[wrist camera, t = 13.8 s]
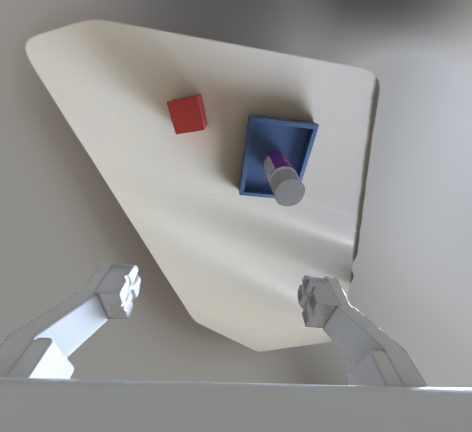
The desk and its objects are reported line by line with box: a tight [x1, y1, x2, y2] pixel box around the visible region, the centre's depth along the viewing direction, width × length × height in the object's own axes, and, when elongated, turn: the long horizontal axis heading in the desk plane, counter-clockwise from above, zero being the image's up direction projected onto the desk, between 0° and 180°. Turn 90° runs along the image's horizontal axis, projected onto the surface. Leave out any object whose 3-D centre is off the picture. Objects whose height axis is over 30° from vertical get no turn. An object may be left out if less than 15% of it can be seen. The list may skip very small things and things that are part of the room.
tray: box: [239, 114, 319, 198], centre depth 43 cm, size 16×13×3 cm
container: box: [262, 149, 305, 206], centre depth 37 cm, size 5×5×15 cm
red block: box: [167, 95, 207, 134], centre depth 37 cm, size 5×5×5 cm
